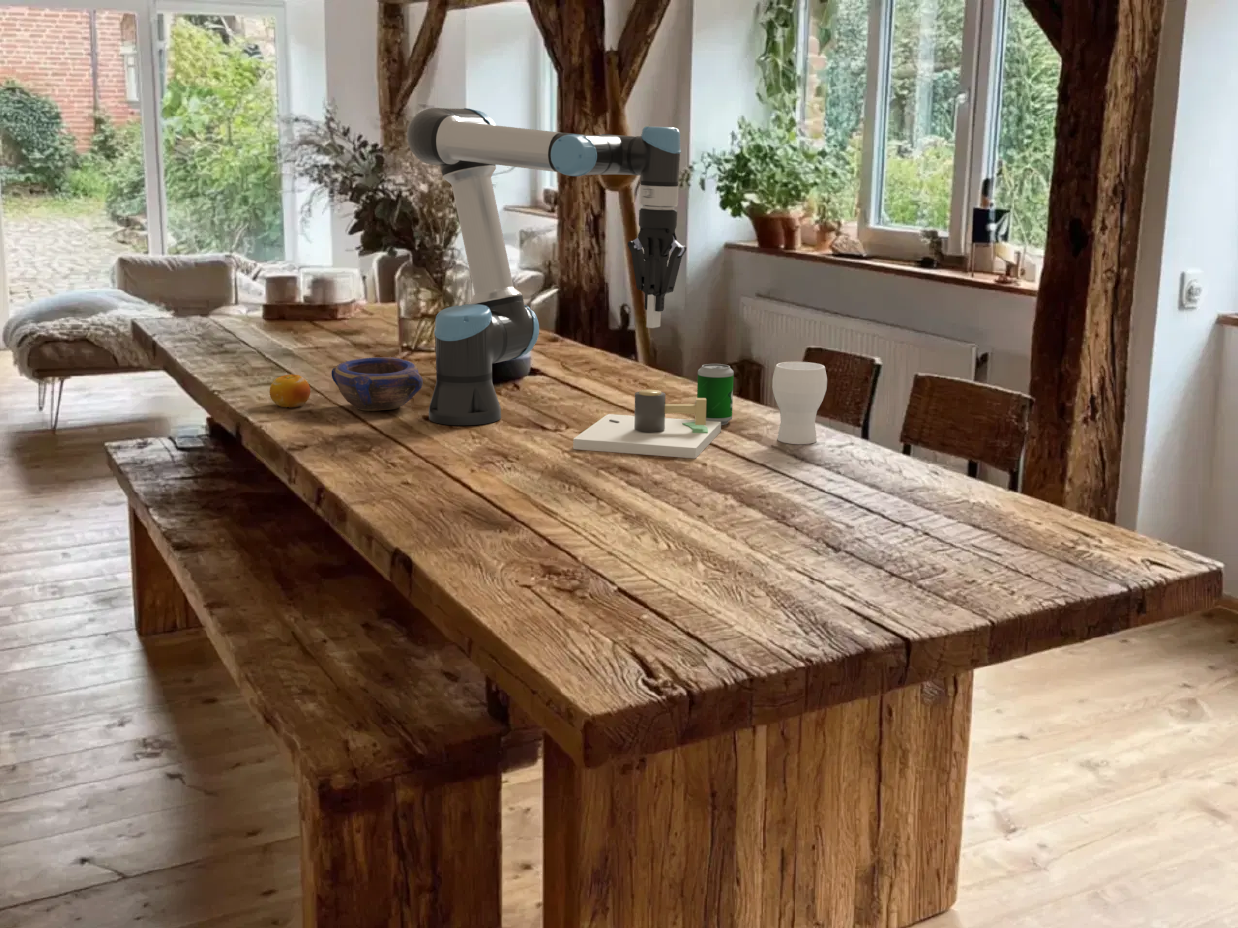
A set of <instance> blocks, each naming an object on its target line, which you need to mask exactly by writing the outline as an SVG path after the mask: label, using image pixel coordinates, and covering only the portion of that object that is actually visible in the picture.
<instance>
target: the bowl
mask: <svg viewBox="0 0 1238 928" xmlns="http://www.w3.org/2000/svg"><path fill="white" fill-rule="evenodd" d="M330 375H331V378H332V380H333V382H334V383H335V385H336V386H337V387H338V390H339V392H340V394H341V395H342V396H343V398H344V399H345V400H346V401H347V403H349V404H350V405H352V406H353V407H354V408H356V409H358V410H360V411H368V412H375V411H377V412H378V411H386V410H387V411H388V410H396V409H399V408H400V407H402V406H404V405H406V403H408V402H409V401H410V400H411V399H413V397H414V396H415V395H416V394H417V393H419V391H420V390H421V389H422V388H423V386H424V385H423V384H424V383H423V382H424V381H423V377H422V376H421V374H420V373H419V369H418V367H417V365H415V363H413V362H411V361H409V360H406V359H401V358H397V357H389V356H388V357H386V356H383V357H382V356H381V357H380V356H379V357H378V356H377V357H364V358H362V357H361V358H355V359H350V360H346V361H343V362H341V363H339V364H337V365H336V366H335V367H333V368H332V370H331V373H330Z"/></svg>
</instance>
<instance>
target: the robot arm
mask: <svg viewBox="0 0 1238 928" xmlns="http://www.w3.org/2000/svg"><path fill="white" fill-rule="evenodd" d="M406 138H407V144H408V146H409V150H410V151H411V153H412V155H414V157H416V159H418V160H419V161H421V163H424V164H426V165H431V166H440V171H441V174H442V179H443V180H444V181H446V182H448V183H449V184H450V185H451V187H452V193H453V197H454V202H455V207H456V212H457V216H458V221H459V227H460V230H461V231H460V233H461V235H462V240H463V245H464V249H465V254H466V259H467V263H468V269H469V274H470V279H471V283H472V289H473V292H474V296H473V297H472V299H471V301H470V303H468V304H467V303H466V304H465V303H464V304H461V305H453V306H449V307H448V306H447V307H446V308H444V309H441V310H440V311H439V312H438V313H437V314H436V315H435V319H434V320H435V322H434V323H435V324H434V325H435V327H434V331H433V332H434V342H435V347H434V348H435V370H436V372H435V374H436V375H435V376H436V379H435V380H436V383H435V386H434V390H433V393H432V396H431V400H430V403H429V407H428V420H429V421H431V422H433V423H436V424H439V425H448V426H478V425H485V424H492V423H494V422H498V421H499V420H501V419H502V408H501V405H500V402H499V398H498V396H497V393H496V389H495V386H494V384H493V364H496V363H502V362H505V361H511V360H517V359H518V358H521V357H524V356H525V355H527V354H528V353H529V352H531V351H532V350H533V349H534V346H535V344H537V342H538V338H539V334H540V324H539V320H538V317H537V315H536V313H535V311H534V310H532V309H531V307H530V306H528V305H526V304H525V301H524V297H523V294H522V292H521V291H519V290H518V289H516V288H515V287H514V283H513V277H512V274H511V269H510V263H509V259H508V254H507V250H506V248H507V247H506V245H505V244H506V243H505V238H504V234H503V228H502V225H501V220H500V215H499V210H498V205H497V199H496V195H495V192H494V186H493V185H494V184H493V180H492V176H493V174H494V172H495V170H497V166H504V167H512V168H513V167H514V168H520V169H528V170H529V169H530V170H535V171H536V170H537V171H538V170H539V171H547V172H554V173H560V174H562V175H565V176H570V177H581V176H592V175H595V176H599V175H605V176H606V175H624V176H625V175H627V176H629V175H630V176H639V177H640V184H639V185H640V186H639V187H640V189H639V205H640V206H642V207H640V209H639V210H638V212H639V213H638V226H639V232H638V234H637V237H636V238H635V239H633V240H630V241H628V242H627V247H628V250H629V251H630V253H631V259H632V265H633V266H632V267H633V272H634V279H635V285H636V289H637V290H638V291H641V292H643V293H644V305H643V306H644V310H645V311H646V325H645V327H646V328H649V329H655V328H660V327H661V321H662V319H661V318H662V317H661V316H662V315H661V314H662V312H663V311H664V309H665V297H666V294H669V293H673V292H674V291H675V287H676V282H677V279H678V278H677V277H678V276H679V275H678V274H679V270H680V266H681V262H682V258H683V256H684V255H685V253H686V251H687V246H686V245H682V244H681V243H679V242H678V240H677V239H678V238H677V235H676V229H677V226H678V211H677V209H675V208H677V207H678V205H679V177H680V175H679V173H680V161H681V159H680V158H681V153H682V149H681V132H680V130H679V128H677V127H673V126H671V127H670V126H644V127H643V128H642V130H641V135H639V136H636V135H635V136H632V135H619V134H610V133H607V134H605V133H603V134H602V133H601V134H579V133H570V132H560V131H559V132H558V131H550V130H549V131H548V130H541V129H531V128H523V127H522V128H521V127H513V126H505V125H504V126H503V125H497V124H496V122H495V121H494V120H493V119H492V118H491V117H490V116H489V115H488V114H487V113H485V112H483V111H481V110H476V109H472V108H466V107H464V108H445V107H444V108H441V107H430V108H425V109H423V110H421V111H420V112H418V113H417V114H415V116H414V117H413V118H412V119H411V120H410V123H409V124H408V127H407V133H406ZM670 252H671V253H670Z"/></svg>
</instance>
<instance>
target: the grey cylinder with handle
mask: <svg viewBox="0 0 1238 928" xmlns="http://www.w3.org/2000/svg"><path fill="white" fill-rule="evenodd" d="M666 414H671V415H672V414H673V415H674V414H677V415H678V414H679V415H680V414H683V415H684V414H685V415H688V414H689V415H693V414H694V420H695V425H706V398H697V397H695V400H694V403H666V393H665V392H663V391H661V390H658V389H641V390H638V391H636V392H635V393H634V416H635V421H634V429H635V430H638V431H643V432H658V431H663V430H664V429H665V418H666Z"/></svg>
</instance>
